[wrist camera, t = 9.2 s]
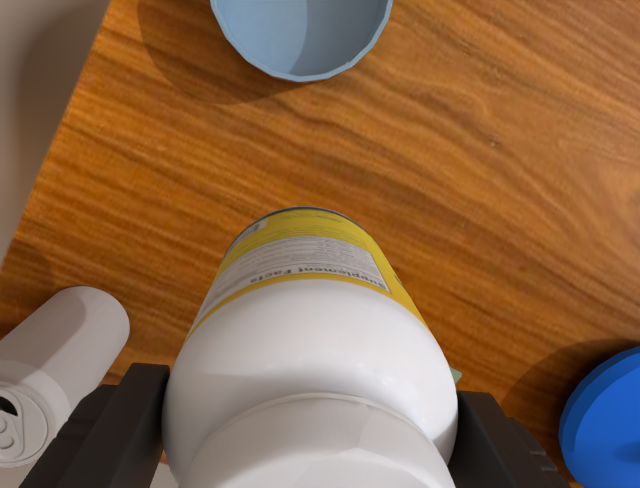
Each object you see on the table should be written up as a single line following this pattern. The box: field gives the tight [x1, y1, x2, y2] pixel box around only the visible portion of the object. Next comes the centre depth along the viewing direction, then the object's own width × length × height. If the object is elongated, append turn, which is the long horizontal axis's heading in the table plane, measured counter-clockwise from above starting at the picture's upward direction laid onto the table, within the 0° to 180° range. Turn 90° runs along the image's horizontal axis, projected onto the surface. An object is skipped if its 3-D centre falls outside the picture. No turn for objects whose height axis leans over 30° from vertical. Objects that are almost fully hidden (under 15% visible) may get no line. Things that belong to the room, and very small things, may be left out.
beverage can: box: [0, 286, 130, 467], centre depth 29 cm, size 6×6×12 cm
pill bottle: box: [161, 206, 458, 488], centre depth 12 cm, size 6×6×12 cm
